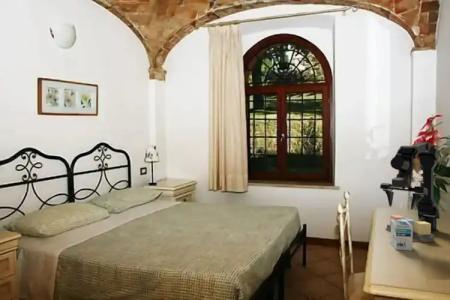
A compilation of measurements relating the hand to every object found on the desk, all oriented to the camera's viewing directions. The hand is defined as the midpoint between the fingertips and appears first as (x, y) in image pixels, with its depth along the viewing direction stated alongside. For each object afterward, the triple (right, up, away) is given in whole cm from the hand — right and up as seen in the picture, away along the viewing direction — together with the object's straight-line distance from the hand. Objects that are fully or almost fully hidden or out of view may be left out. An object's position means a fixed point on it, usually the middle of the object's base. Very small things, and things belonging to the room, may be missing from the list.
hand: (400, 208), depth 170 cm
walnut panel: (+10, -15, +13) cm, 22 cm away
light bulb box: (-2, -16, -5) cm, 17 cm away
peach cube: (+7, -12, +19) cm, 23 cm away
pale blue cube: (+8, -12, +12) cm, 19 cm away
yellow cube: (+13, -12, +6) cm, 19 cm away
